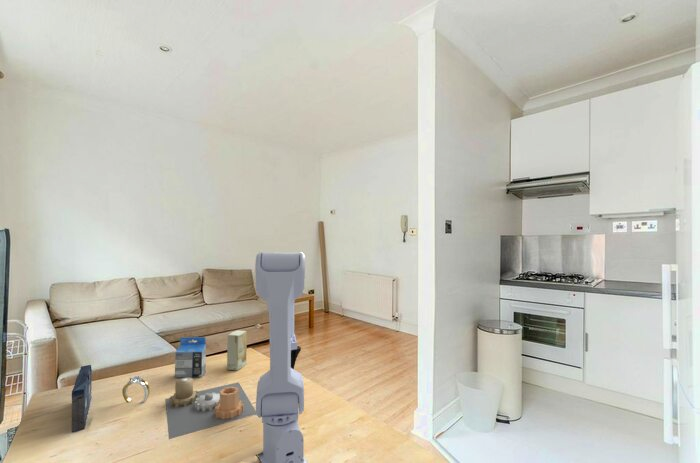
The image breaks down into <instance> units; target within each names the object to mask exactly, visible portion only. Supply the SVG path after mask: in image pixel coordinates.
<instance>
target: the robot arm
mask: <svg viewBox="0 0 700 463" xmlns="http://www.w3.org/2000/svg"><path fill="white" fill-rule="evenodd" d="M254 266H255V267H254V268H255V269H254V270H255V291H256V293H257V294H256V295H257V297H259V298H260V299H262V300H263V301H265V302H266V306H267V307H266V308H267V310H268V315H269V316H268V317H269V318H268V320H269V321H268V323H269V336H268V340H267V342H268V343H269V370H268V371H267V372H265V373H264V374H262V375H261V376H260V377H259V380H258V381H257V386H256V397H255V411H256V414H255V415H256V416H257V418H259V419H261V423H262V427H263V428H262V432H263V434H262V436H263V437H262V442H263V443H262V452H260V453H257V457H258V459H259V460H260V462H261V463H308V461H307V460H306V458H305V457H304V444H305V442H304V435H303V433H302V430H301V429H300V427H299V423H298V422H299V415H302V414H303V412H304V411H305V389H304V388H305V387H304V377H303V375H302V373H300V372H299V371H297V370H296V369H295V367H296V366H295V364H296V361H297V358H298V356H299V354H300V352H301V350H302V347H301V346H300V345H298V341H297V338H296V333H295V303H296V300H297V299H298V298H301V296H303V295H304V290H305V279H306V255H305V253H303V252H302V251H299V252H262V251H259V252H258V254H256V256H255V265H254Z"/></svg>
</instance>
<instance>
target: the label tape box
mask: <svg viewBox="0 0 700 463" xmlns="http://www.w3.org/2000/svg"><path fill="white" fill-rule="evenodd" d="M191 341H193V342H191ZM206 342H207V341H206V336H197V337H196V336H194V337H193V336H191V337H190V336H187V337H179V343H180V344H179V345H178V347H177V350H175V355H174V356H175V357H174V358H175V359H174V360H175V361H174V379H177V378H201V377H203V376H204V375H205V374H206V365H207V364H206V363H207V362H206V359H207V358H206V357H207V356H206V355H207V353H206V350H207V344H206Z"/></svg>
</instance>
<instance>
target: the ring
mask: <svg viewBox="0 0 700 463" xmlns="http://www.w3.org/2000/svg"><path fill="white" fill-rule="evenodd" d="M133 384H137V385H140V386H142V387H143V388H142V389H143V390H144V396H143V397H144V398H143V399H142V400H141V401H140V404H143V403H145V402H146V401H148V399H149V396H150V390H151V389H150V385H149V383H148V382H147V381H146V380H145V379H144V377H142V376H139V375H135V376H134V377H129V381H128V382H126V384H124V385H123V387H122V390H121V391H122V392H121V393H122V397H123V398H124V401H125V402H126V403H131V402H133V400H132V399H131V398H130V397H129V394H128V390H129V386H132V385H133Z"/></svg>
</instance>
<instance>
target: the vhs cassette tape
mask: <svg viewBox="0 0 700 463" xmlns="http://www.w3.org/2000/svg"><path fill="white" fill-rule="evenodd" d="M92 371H93V370H92V365H91V364H88V365H82V366H80V369H79V371H78V374H77V376H76V379H75V383H74V386H73V389H72V390H71V433H76V432H79V431H82V430H85V429H86V424H87V421H86V420H88V416H87V415H89V412H88V411H90V407H91V403H90V402H92Z"/></svg>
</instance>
